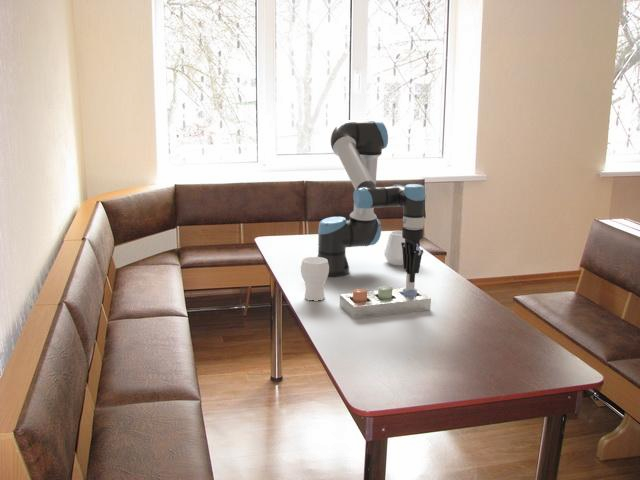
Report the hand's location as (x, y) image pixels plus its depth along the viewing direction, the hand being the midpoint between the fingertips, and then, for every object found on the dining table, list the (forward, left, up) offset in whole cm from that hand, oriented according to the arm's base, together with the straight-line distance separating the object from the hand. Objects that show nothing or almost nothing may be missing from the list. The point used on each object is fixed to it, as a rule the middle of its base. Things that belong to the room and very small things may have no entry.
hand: (410, 289), depth 245 cm
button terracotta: (0, -20, -4) cm, 20 cm away
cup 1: (-18, -31, -6) cm, 36 cm away
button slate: (0, 0, -5) cm, 5 cm away
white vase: (-53, +21, -6) cm, 57 cm away
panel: (0, -10, -6) cm, 12 cm away
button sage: (0, -10, -4) cm, 11 cm away
